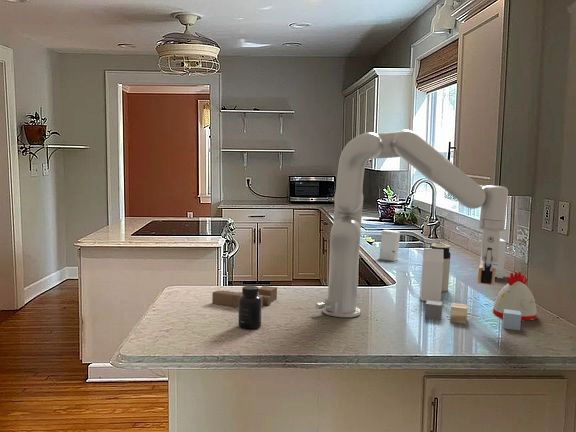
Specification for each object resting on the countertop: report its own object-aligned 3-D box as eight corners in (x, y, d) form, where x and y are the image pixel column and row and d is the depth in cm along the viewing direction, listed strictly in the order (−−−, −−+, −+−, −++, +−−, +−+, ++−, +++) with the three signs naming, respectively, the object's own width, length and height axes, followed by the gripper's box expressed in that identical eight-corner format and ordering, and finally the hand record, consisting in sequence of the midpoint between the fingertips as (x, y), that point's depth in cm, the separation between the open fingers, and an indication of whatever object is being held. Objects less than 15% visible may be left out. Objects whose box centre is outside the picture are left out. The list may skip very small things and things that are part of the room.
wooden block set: (260, 295, 189) (211, 288, 196) (259, 312, 190) (211, 305, 197) (280, 285, 205) (234, 279, 212) (279, 300, 206) (234, 294, 212)
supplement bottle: (249, 321, 178) (250, 283, 176) (265, 326, 173) (267, 287, 172) (233, 326, 172) (234, 287, 171) (250, 331, 168) (251, 291, 167)
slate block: (520, 330, 180) (521, 314, 180) (503, 328, 182) (504, 312, 181) (519, 326, 185) (520, 310, 184) (502, 324, 187) (503, 309, 186)
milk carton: (440, 302, 211) (444, 251, 209) (420, 300, 212) (424, 249, 210) (439, 297, 218) (443, 248, 216) (420, 296, 219) (423, 246, 217)
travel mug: (427, 290, 229) (430, 245, 227) (427, 286, 236) (430, 243, 234) (448, 292, 227) (451, 247, 225) (447, 288, 234) (450, 244, 233)
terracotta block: (494, 285, 181) (495, 269, 181) (477, 283, 183) (479, 267, 182) (493, 282, 186) (495, 266, 186) (477, 280, 188) (479, 265, 187)
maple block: (466, 323, 185) (467, 308, 185) (449, 321, 187) (451, 306, 186) (466, 319, 190) (467, 304, 190) (450, 317, 192) (451, 303, 191)
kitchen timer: (484, 311, 202) (487, 268, 200) (515, 308, 207) (519, 267, 205) (512, 322, 189) (516, 277, 187) (545, 319, 194) (549, 275, 192)
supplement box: (503, 278, 258) (506, 241, 256) (482, 277, 260) (484, 240, 258) (499, 274, 268) (502, 238, 266) (478, 272, 269) (481, 237, 267)
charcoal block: (440, 320, 188) (441, 305, 187) (424, 318, 189) (425, 303, 189) (441, 316, 193) (442, 302, 192) (426, 314, 194) (427, 300, 194)
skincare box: (379, 259, 294) (380, 230, 293) (382, 257, 300) (384, 229, 298) (395, 261, 290) (396, 232, 289) (398, 259, 296) (400, 230, 294)
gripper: (505, 229, 173) (498, 288, 175) (503, 223, 189) (497, 278, 191) (479, 226, 176) (473, 285, 178) (479, 221, 192) (473, 275, 194)
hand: (485, 280), depth 184 cm, fingers closed on terracotta block, 4 cm apart
